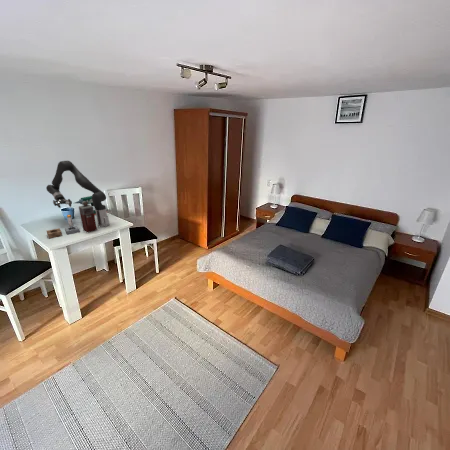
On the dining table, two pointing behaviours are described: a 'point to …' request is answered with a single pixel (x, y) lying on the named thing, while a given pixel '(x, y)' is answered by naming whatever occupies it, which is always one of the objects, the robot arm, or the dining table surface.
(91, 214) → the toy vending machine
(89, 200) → the power tool
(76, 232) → the socket block
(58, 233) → the walnut rack
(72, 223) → the steel peg
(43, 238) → the dining table surface
